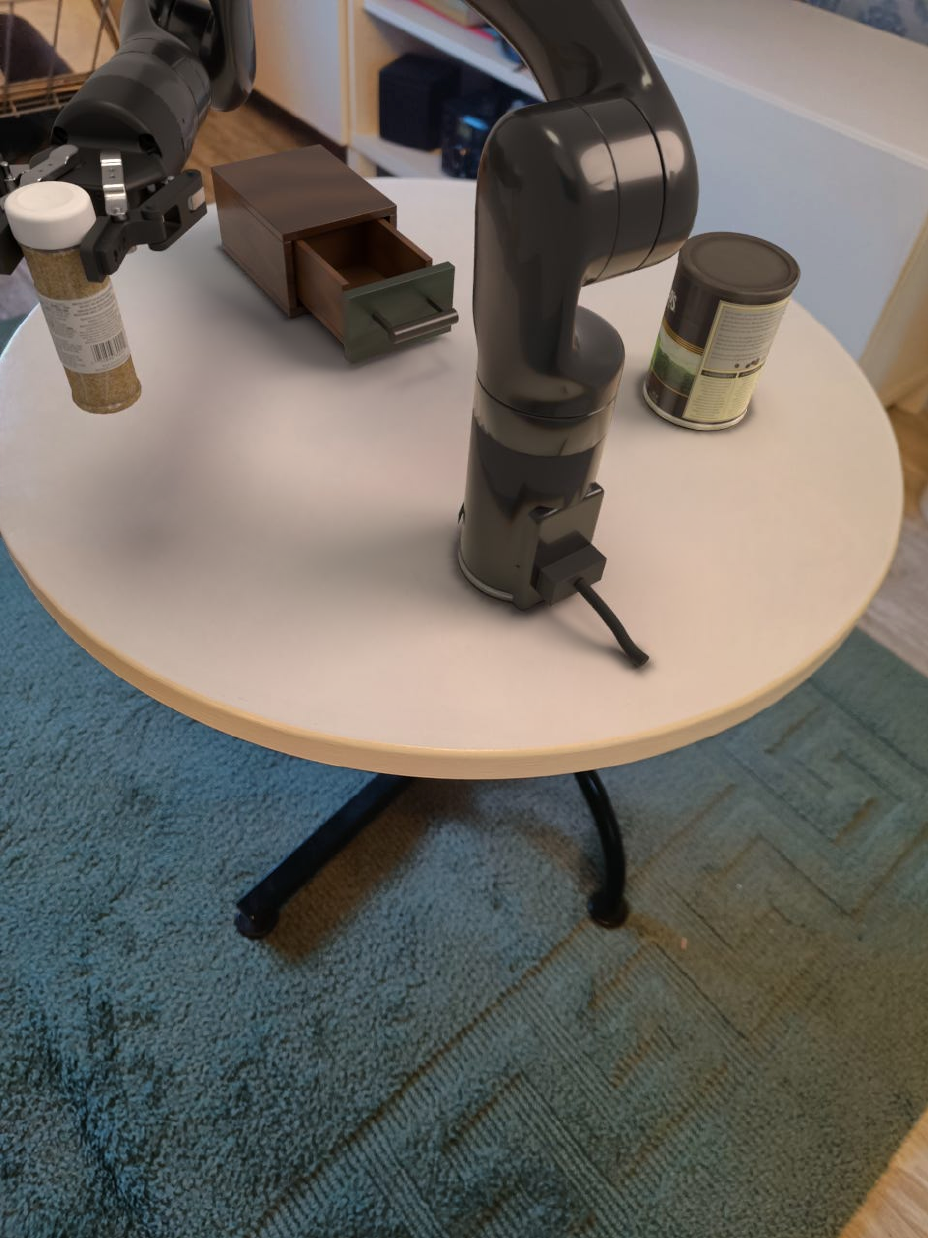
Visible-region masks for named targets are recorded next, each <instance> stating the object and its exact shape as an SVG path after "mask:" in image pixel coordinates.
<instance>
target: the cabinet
mask: <svg viewBox="0 0 928 1238" xmlns="http://www.w3.org/2000/svg"><path fill="white" fill-rule="evenodd" d="M210 173H211V180H212V186H213V187H212V188H213V193H214V199H215V205H216V214H217V219H218V220H217V221H218V227H219V232H220V240H221V245H222V249H223V251H224V252H225V253H226V254H227V255H228V256H229V257H230V258H231V259H232V260H233V261H234V262H235V263H236V264H237V265H238V266H239V267H240V269H242V270H243V271H244V272H245V274H247V275H248V276H249V278H250V279H252V280H253V281H254V283H256V284H257V285H258V287H260V289H262V290H263V292H264V293H265V294H266V295H267V296H268V297H269V298H270V299H271V300H272V301H273V302H274V303H275V304H276V305H277V306H278V307H279V308H280V309H281V310H282V311H283V312H284V313H285V314H286V315H287V316H288V317H289V318H290V319H291V318H294V317H295V318H296V317H298V316H302V315H305V314H308V313H311V312H310V311H309V310H308V309H307V308H306V307H305V306H304V305H303V304H302V303H301V302H300V301H299V300H298V299H297V298H296V289H295V278H294V267H293V256H292V244H291V241H292V240H296V239H300V238H304V237H308V236H312V235H316V234H320V233H323V232H327V231H331V230H335V229H339V228H343V227H347V226H351V225H354V224H358V223H362V222H366V221H370V220H374V219H378V218H383V219H385V220H386V221H387V222H388V223H390V224H391V225H392V226H393V227H394V228H396V229H397V230H398V204H396V203H395V202H394V201H392V200H391V199H390V198H389V197H387V196H386V195H385V194H384V193H383V192H381V191H380V190H379V189H377V188H376V187H375V186H373V185H372V184H371V183H370V182H368V181H367V180H366V179H364V178H363V177H362V176H361V175H360V174H359V173H357V172H356V171H355V170H353V169H352V168H351V167H350V166H348V165H347V164H345V163H344V162H343V161H342V160H341V159H339V158H338V157H337V156H335V155H334V154H333V153H331V151H329V150H328V149H327V148H325V147H324V146H323V145H322V144H320V143H317V144H314V145H309V146H304V147H298V148H295V149H290V150H286V151H281V152H275V153H271V154H267V155H261V156H257V157H252V158H248V159H242V160H238V161H233V162H229V163H224V164H219V165H214V166H210Z"/></svg>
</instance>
